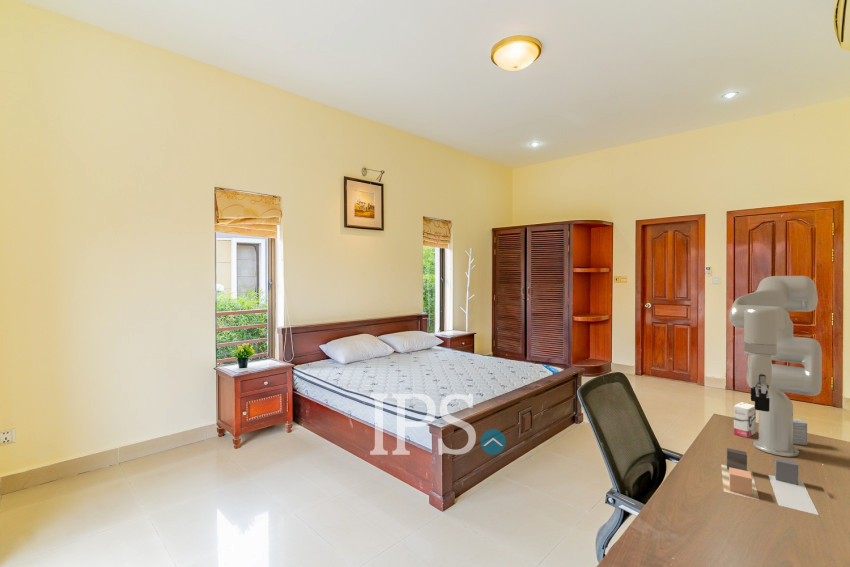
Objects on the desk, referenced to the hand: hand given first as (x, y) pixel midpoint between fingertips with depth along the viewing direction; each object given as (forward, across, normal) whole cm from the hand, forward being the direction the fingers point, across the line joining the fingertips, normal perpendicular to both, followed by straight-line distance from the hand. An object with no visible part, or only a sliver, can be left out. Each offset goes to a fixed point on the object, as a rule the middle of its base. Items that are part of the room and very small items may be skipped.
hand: (759, 405), depth 117 cm
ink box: (+26, -52, +1) cm, 58 cm away
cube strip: (+26, -1, -5) cm, 26 cm away
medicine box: (+26, -52, +15) cm, 60 cm away
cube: (+24, +5, -5) cm, 25 cm away
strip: (+26, -1, +7) cm, 27 cm away
